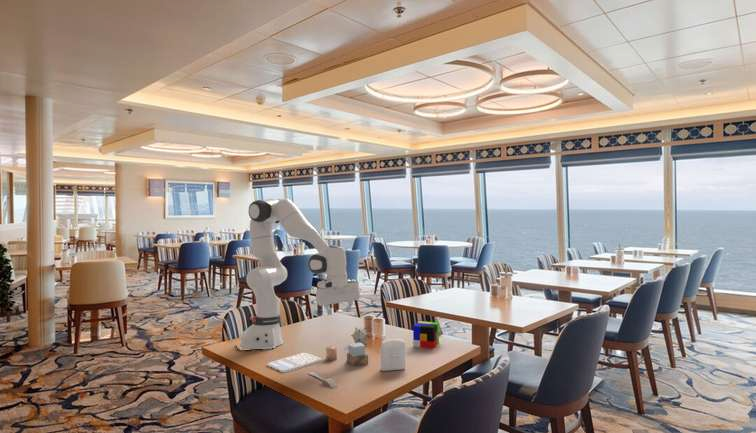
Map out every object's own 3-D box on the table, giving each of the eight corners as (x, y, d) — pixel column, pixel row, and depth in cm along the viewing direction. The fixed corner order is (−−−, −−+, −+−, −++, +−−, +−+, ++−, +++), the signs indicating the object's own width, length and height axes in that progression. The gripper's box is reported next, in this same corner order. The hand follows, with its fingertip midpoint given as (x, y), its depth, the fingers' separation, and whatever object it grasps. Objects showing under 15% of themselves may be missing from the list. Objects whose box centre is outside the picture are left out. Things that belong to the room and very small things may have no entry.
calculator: (322, 362, 190) (322, 358, 190) (283, 374, 175) (283, 369, 175) (304, 355, 199) (304, 351, 199) (265, 366, 185) (265, 362, 185)
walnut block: (353, 367, 182) (352, 357, 182) (346, 362, 189) (346, 353, 189) (368, 364, 185) (368, 355, 185) (361, 359, 192) (361, 350, 192)
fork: (313, 378, 177) (312, 371, 177) (339, 388, 160) (339, 380, 160) (306, 380, 175) (306, 372, 175) (333, 390, 159) (332, 382, 159)
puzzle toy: (413, 346, 209) (413, 325, 209) (419, 341, 218) (419, 321, 218) (433, 348, 205) (433, 327, 205) (438, 343, 214) (438, 322, 214)
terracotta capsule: (328, 361, 189) (328, 349, 189) (324, 358, 193) (324, 346, 193) (338, 359, 191) (338, 348, 191) (334, 356, 195) (334, 345, 195)
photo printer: (403, 366, 182) (403, 336, 182) (406, 369, 178) (406, 339, 178) (379, 368, 180) (379, 338, 180) (382, 372, 176) (381, 341, 175)
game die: (363, 350, 215) (374, 333, 218) (360, 349, 207) (372, 331, 210) (348, 340, 218) (359, 323, 220) (345, 339, 210) (357, 321, 212)
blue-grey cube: (353, 356, 183) (353, 347, 183) (348, 353, 188) (348, 343, 188) (365, 355, 186) (365, 345, 186) (360, 351, 191) (360, 342, 191)
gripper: (354, 278, 202) (356, 308, 201) (313, 283, 191) (315, 315, 190) (361, 279, 196) (363, 310, 196) (319, 285, 185) (321, 317, 185)
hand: (339, 312), depth 193 cm, fingers open, 8 cm apart
